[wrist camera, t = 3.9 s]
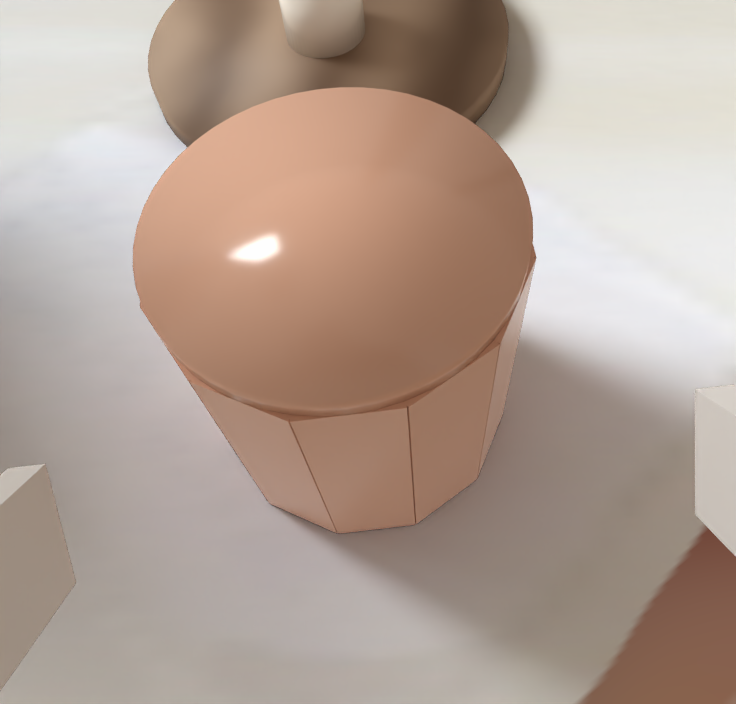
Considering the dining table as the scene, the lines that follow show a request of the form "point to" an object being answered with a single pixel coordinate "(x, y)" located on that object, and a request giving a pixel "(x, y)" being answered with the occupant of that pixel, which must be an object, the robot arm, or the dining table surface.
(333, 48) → the ivory rounded cylinder
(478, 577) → the dining table surface
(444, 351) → the tan domed cylinder
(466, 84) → the walnut board
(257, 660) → the dining table surface
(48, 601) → the robot arm
